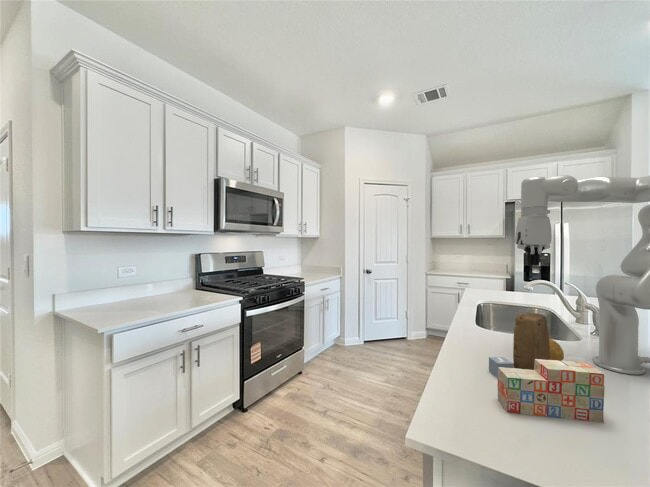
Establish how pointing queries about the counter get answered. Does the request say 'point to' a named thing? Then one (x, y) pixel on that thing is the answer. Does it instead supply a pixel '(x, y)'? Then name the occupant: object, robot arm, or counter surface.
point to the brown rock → (530, 340)
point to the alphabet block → (498, 364)
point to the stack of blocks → (553, 390)
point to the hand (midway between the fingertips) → (533, 265)
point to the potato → (555, 351)
